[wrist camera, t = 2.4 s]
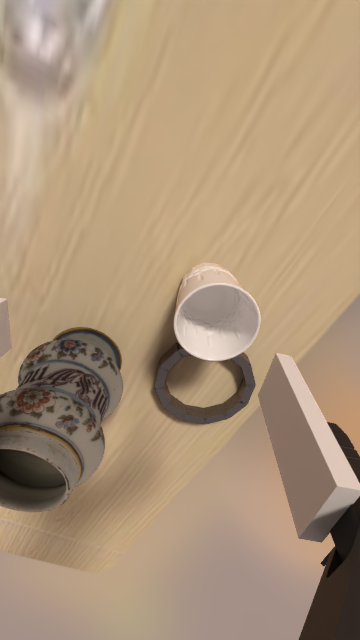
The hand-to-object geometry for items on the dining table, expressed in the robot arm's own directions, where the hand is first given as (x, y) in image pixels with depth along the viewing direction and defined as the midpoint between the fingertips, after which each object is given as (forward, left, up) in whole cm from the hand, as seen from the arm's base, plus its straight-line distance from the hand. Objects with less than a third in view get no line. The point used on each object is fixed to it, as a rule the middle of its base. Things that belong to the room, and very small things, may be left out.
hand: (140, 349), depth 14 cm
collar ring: (-16, -9, -21) cm, 28 cm away
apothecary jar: (-16, +8, -21) cm, 28 cm away
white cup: (-3, -6, -21) cm, 22 cm away
